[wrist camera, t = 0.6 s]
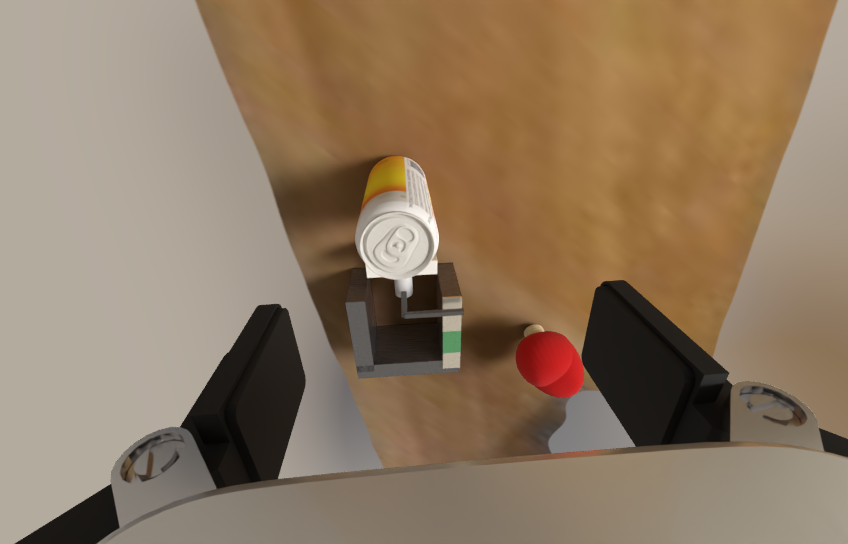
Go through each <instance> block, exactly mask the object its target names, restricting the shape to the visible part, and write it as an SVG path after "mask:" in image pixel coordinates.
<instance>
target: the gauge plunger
mask: <svg viewBox="0 0 848 544" xmlns="http://www.w3.org/2000/svg"><path fill="white" fill-rule="evenodd" d="M365 265H366V264H365ZM366 273H367V278H376V277H381V276H379V275H377V274H376V273H374V272H373V271H371V270H370V269H369V268H368V267H367V265H366ZM429 274H437V256H436V254H435V256H434V257H433V259H432V260H431V262H430V263H429V265H428V266H427V267H426V268H425V269H424V270H423V271H422V272H420V273H419V274H417V275H429ZM394 283H395V294H396V296H397V297H399V298H401V314H402V318H405V319H409V318H425V317H441V316H457V315H464V310H463V308H458V309H442V310H425V311H409V312H407V298H408V297H410V296H411V295H412V294H413V284H412V277H411V278H407V279H400V280H394Z"/></svg>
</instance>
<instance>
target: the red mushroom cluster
mask: <svg viewBox="0 0 848 544" xmlns="http://www.w3.org/2000/svg"><path fill="white" fill-rule="evenodd" d="M524 336H525V338H524V339H523V340H522V341H521V342H520V344H519V345H518V348H517V351H516V363H517V367H518V370H519V372H520V373H521V375H522V376H523V377H524V379H526V380H527V381H528V382H529V383H530V384H532V385H534V386H535V387H536V388H538V389H539V390H541V391H543V392H544V393H546V394H548V395H551V396H553V397H557V398H567V397H570V396H572V395H574V394H576V393H577V392H578V391H579V390H580V388H581V387H582V384H583V381H584V369H583V364H582V361H581V359H580V356H579V354H578V352H577V351H576V349H575V348H574V346H573V345H572V344H571V343H570V341H569V340H568V339H567V338H566V337H565V336H563V335H562V334H559V333H556V332H551V331H544V329H543V328H542V327H541V326H540V325H531V326H529V327H527V328H526V329H525V331H524Z"/></svg>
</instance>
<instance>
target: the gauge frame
mask: <svg viewBox="0 0 848 544" xmlns="http://www.w3.org/2000/svg"><path fill="white" fill-rule="evenodd" d="M436 283H437V310H442V309H458V308H462V295H461V292H460V288H459V284H458V280H457V277H456V273H455V269H454V265H453V263H440V264H437V274H436ZM345 304H346V310H347V315H348V321H349V327H350V333H351V339H352V345H353V350H354V356H355V362H356V368H357V374H358V379H359V378H374V377H388V376H403V375H418V374H433V373H448V372H459V368H460V352H461V315H457V316H441V317H437V323H423V324H407V325H390V326H377V325H376V317H375V309H374V301H373V293H372V284H371V278H367V273H366V268H353V269H352V273H351V278H350V283H349V288H348V292H347V297H346V302H345Z"/></svg>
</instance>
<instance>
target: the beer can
mask: <svg viewBox="0 0 848 544" xmlns="http://www.w3.org/2000/svg"><path fill="white" fill-rule="evenodd" d="M355 243H356V248H357V251H358V253H359V255H360V257H361V258H362V260H363V261H364V263H365V264H366V265H367V267H368V268H369V269H370V270H371V271H373V272H374V273H376V274H377V275H379V276H381V277H384V278H388V279H394V280H400V279H407V278H411V277H413V276H415V275H417V274H419V273H420V272H422V271H423V270H424V269H425V268H426V267H427V266H428V265H429V263H430V262H431V260H432V259H433V257H434V256H435V254H436V251H437V248H438V244H439V234H438V229H437V225H436V220H435V216H434V212H433V207H432V203H431V199H430V194H429V190H428V186H427V181H426V177H425V174H424V172H423V170H422V169H421V167H420V166H419V165H418V164H417V163H416V162H414V161H413V160H411V159H409V158H406V157H403V156H391V157H387V158H385V159H383V160H381V161H379V162H378V163H377V164H376V165H375V166H374V167H373V169H372V170H371V172H370V175H369V178H368V182H367V186H366V191H365V195H364V199H363V203H362V208H361V212H360V216H359V220H358V225H357V229H356V234H355Z"/></svg>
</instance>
